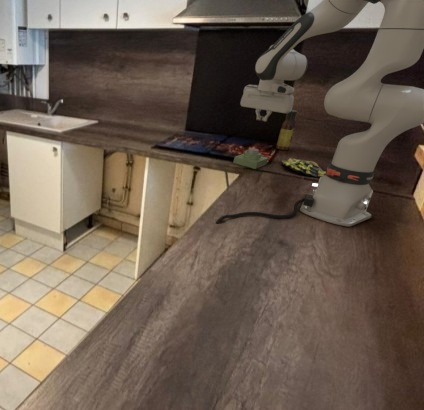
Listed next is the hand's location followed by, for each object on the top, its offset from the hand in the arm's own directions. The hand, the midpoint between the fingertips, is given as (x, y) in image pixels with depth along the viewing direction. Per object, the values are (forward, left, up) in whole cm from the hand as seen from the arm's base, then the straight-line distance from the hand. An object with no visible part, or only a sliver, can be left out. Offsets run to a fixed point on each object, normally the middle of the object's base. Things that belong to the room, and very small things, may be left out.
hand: (261, 120), depth 152 cm
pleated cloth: (+12, -18, -19) cm, 29 cm away
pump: (0, 0, -15) cm, 15 cm away
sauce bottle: (+43, +2, -19) cm, 47 cm away
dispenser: (0, 0, -19) cm, 19 cm away
